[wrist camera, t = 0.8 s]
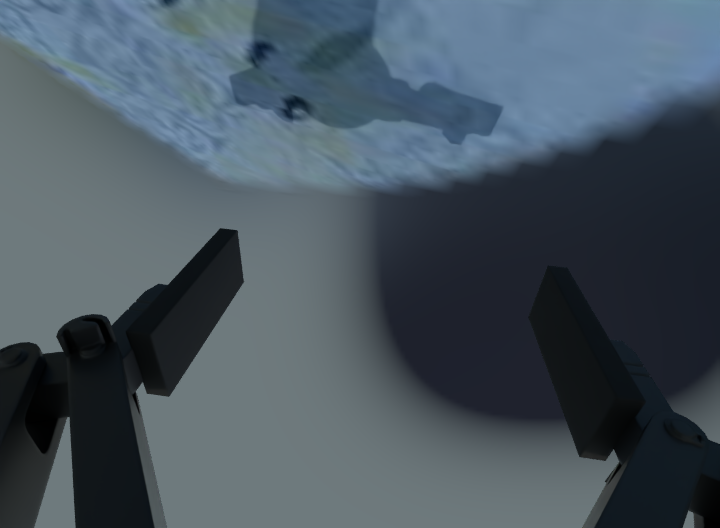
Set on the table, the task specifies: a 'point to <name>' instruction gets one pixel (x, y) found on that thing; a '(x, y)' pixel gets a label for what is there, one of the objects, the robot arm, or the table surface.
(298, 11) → the table surface
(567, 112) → the table surface
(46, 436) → the robot arm
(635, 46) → the table surface
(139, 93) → the table surface
